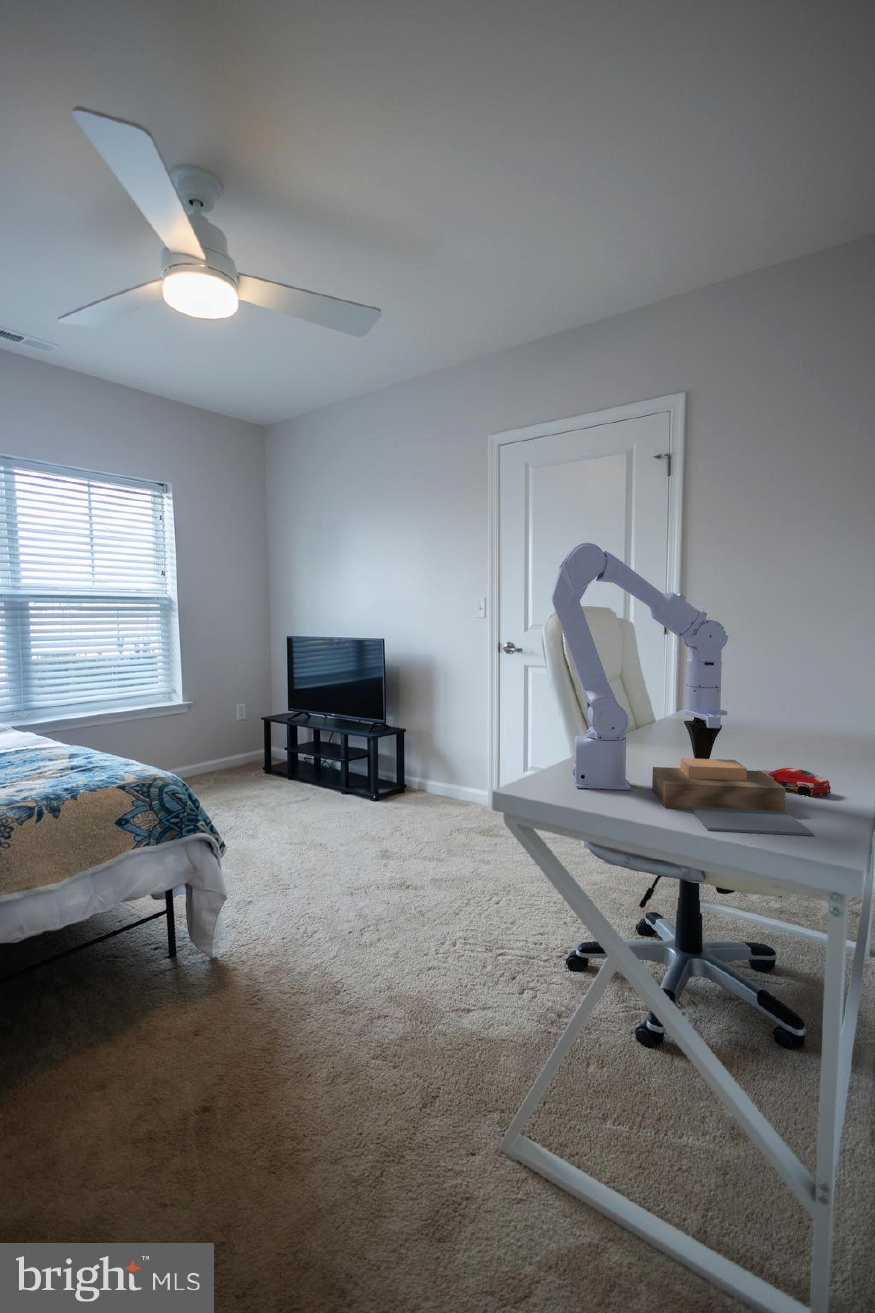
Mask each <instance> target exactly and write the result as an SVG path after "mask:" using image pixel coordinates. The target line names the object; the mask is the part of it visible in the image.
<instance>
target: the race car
mask: <svg viewBox="0 0 875 1313" xmlns="http://www.w3.org/2000/svg"><path fill="white" fill-rule="evenodd" d="M757 771H761V772H763V773H764V774H766V775H767V776H769V777H770V778H771V779H773V780H774V781H776V782H777V783H779V784H780V785H782V786H783V787H784V788H786V791H785V793H792V794H798V795H799V796H802V795H804V796H803V797H806V796H808V797H825V796H827V795H828V794H831V793H832V791H831V785H830V781H829V779H827V778H825V777H822V776H820V775H818V774H815V773H814V772H811V771H808V770H805V769H800V768H795V767H794V768H793V767H783V768H779V769H778V768H777V769H776V770H768V769H767V770H766V769H763V770H760V769H759V770H757Z"/></svg>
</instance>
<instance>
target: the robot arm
mask: <svg viewBox="0 0 875 1313" xmlns="http://www.w3.org/2000/svg"><path fill="white" fill-rule="evenodd" d="M556 576H557V577H556V579H555V580H556V581H555V584H554V588H553V592H552V595H551V602H552V605H553V608H554V611H555V614H556V617H557V619H558V623H559V626H560V629H561V631H562V633H563V634H562V635H563V637H564V640H565V642H566V645H567V648H568V651H569V654H570V657H571V659H572V662H573V665H574V668H575V670H576V673H577V677H578V679H579V682H580V684H581V688H582V692H583V696H584V700H585V703H586V707H585V708H586V709H585V717H586V721H587V723H589V725H590V726H589V728H588V729H587V730H586V731H585V735H575V736H574V746H573V748H574V749H573V751H574V752H573V753H574V755H573V765H572V776H573V779H574V784H575V787H576V788H580V789H599V790H600V789H601V790H623V791H624V790H626V791H627V790H628V791H629V790H631V786H630V784H629V782H628V780H627V778H626V777H627V776H626V775H627V773H626V771H627V770H626V769H627V767H626V766H627V733H625V732H626V731H627V729H628V726H629V715H628V713H627V712H626V710H625V709H624V707H622V706H621V705H620V704H619V703H618V701H617V698H616V696H615V693H614V692H613V690H612V688H611V685H610V684H609V683H610V682H609V680H608V678H607V675H606V672H605V670H604V667H603V664H602V663H603V662H602V661H601V658H600V656H599V652H598V649H597V647H596V643H595V641H594V639H593V636H592V633H591V629H590V627H589V624H588V620H587V618H586V616H585V613H584V610H583V607H582V604H581V600H582V598H583V596H584V594H585V592H586V590H587V589H588V586H589V585H590V584H591V583H592V581H594V580H595V582H600V583H601V582H602V583H612V584H614V585H616V586H618V587H620V588H621V589H623V590H624V591H625V592H626V593H628V594H630V595H631V596H633V597H634V598H636V599H637V600H639V601H641V602H642V603H643V604H645V605H646V606H648V607H649V609H650V615H651V618H652V619H653V620H654V621H656V622H658V623H659V624H660V625H661V626H663V627H664V628H666V629H667V630H669V632H671V633H673V635H676V637H678V638H680V639H682V641H683V643H684V645H685V646H686V647H687V660H686V687H685V688H686V689H685V690H686V691H685V692H686V693H685V699H686V700H685V709H684V715H686V716H689V717H693V719H692V720H684V721H683V723H684V724H683V725H684V726H685V727H686V730H687V732H688V735H689V739H690V743H691V748H692V754H693V759H711V754H712V751H713V747H714V743H715V741H716V739H717V737H718V735H719V733H720V732H721V730H722V727H723V725H722V724H721V720H722V718H721V717H722V716H728V711H727V710H726V709H721V696H722V691H721V690H722V666H723V662H722V655H723V654H722V651H723V649H724V648H725V646H726V645H727V642H728V641H729V640H728V639H729V635H727V632H726V630H725V627H724V626H723V624H722V623H720V622H718V621H716V620H713V619H707V616H708V613H707V612H706V611H704V610H698V609H697V608H695V607H694V606H693V605H692V604H691V603H688V602H687V601H686V598H687V597H686V596H685V595H684V594H683V593H677V594H676V593H675V592H673V591H670V592H664V593H662V592H661V591H660V590H658V589H657V588H656V587H655V586H654V585H653V584H651V583H650V582H648V581H647V580H646V579H644V578H643V577H642V576H641V575H640V574H638V573H637V572H636V571H634V570H633V569H632V568H630V567H629V566H628V565H627V564H626V563H624V562H623V561H622V560H620V559H619V558H617V557H616V556H615V555H613V554H612V553H611V552H608V551H607V550H604V551H603V549H602V548H601V547H600V546H598V545H597V544H596V543H592V542H584V543H583V542H582V543H579V544H578V545H576V546H575V547H573V549H572V550H571V551H569V553H568V554H567V555H566V557H565V558H564V560H563V561H562V563H560V566H559V568H558V573H557V575H556Z"/></svg>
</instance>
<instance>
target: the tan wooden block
mask: <svg viewBox="0 0 875 1313" xmlns="http://www.w3.org/2000/svg"><path fill="white" fill-rule="evenodd" d="M679 768H680V769H681V771H682V772H683V773H684V774H685V775H686V776H687V777H688V778H697V779H723V780H746V774H747V770H748V769H747V767H746V766H744V765H743V764H741V763H740V762H739V761H737V760H736V759H720V758H719V759H714V758H713V759H712V758H709V759H695V758H691V757H690V758H687V757H682V758H681V757H680V767H679Z"/></svg>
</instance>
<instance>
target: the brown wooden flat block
mask: <svg viewBox="0 0 875 1313" xmlns="http://www.w3.org/2000/svg"><path fill="white" fill-rule="evenodd" d="M651 782H652V784H651V785H652V787H651V789H652V791H653V792H654V793H655V796H656V797H657V798H658V800H659V802H660V803H661V804H662V806H663V807H664V808H665V807H666V808H665V809H679V810H680V809H681V810H683V809H686V810H687V809H688V810H691V807H712V808H734V809H755V810H777V811H786V788H784V787H783V786H782V785H780V784H779V783H777V782H776V781H774V780H773V779H771V778H770V777H769V776H767V775H766V774H764V773H763V772H761V771H758V770H748V769H747V774H746V780H723V779H697V778H688V777H687V776H686V775H685V774H684V773H683V772H682V771H681V769H680V767H666V766H665V767H664V766H663V767H661V766H660V767H659V766H652V781H651Z"/></svg>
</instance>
